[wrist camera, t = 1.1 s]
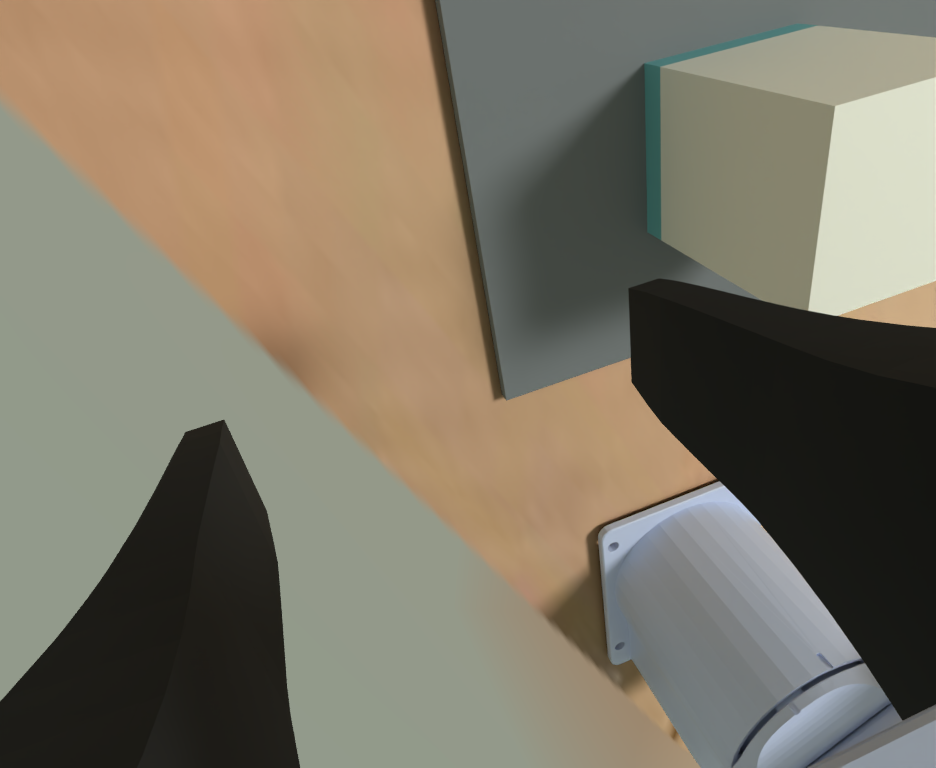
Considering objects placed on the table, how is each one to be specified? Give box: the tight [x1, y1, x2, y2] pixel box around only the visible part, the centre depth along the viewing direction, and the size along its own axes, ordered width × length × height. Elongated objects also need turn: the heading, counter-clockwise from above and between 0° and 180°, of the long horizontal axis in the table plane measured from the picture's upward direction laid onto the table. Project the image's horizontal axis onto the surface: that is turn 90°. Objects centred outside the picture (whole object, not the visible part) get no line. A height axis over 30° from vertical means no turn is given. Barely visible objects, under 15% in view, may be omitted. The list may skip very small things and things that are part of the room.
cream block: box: [644, 23, 936, 316], centre depth 18 cm, size 5×5×7 cm
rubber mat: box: [435, 0, 936, 400], centre depth 22 cm, size 13×18×1 cm
